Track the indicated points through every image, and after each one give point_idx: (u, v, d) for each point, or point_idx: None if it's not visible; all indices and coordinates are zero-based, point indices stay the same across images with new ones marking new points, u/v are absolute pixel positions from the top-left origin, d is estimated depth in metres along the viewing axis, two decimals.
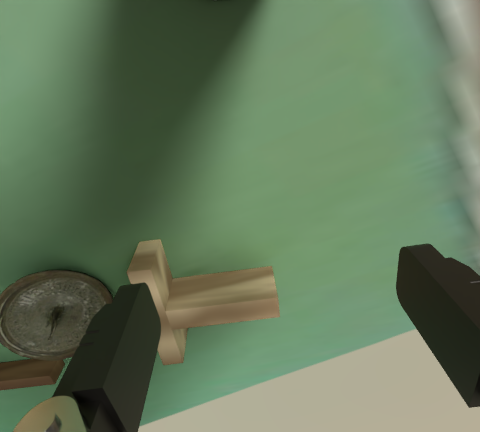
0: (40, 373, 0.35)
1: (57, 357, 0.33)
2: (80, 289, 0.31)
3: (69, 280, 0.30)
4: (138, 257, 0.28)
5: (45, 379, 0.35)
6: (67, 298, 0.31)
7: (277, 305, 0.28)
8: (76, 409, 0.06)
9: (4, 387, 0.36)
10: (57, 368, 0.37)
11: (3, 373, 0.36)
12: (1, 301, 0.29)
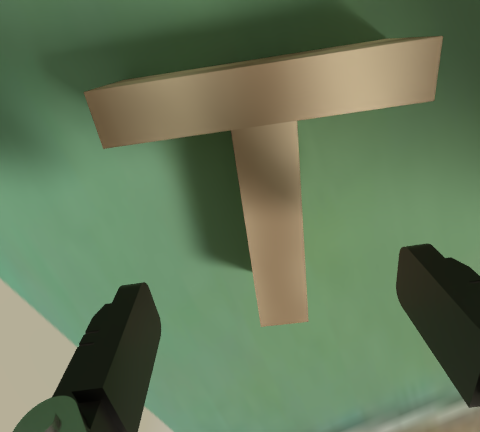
0: None
1: None
2: None
3: None
4: None
5: None
6: None
7: (290, 322, 0.16)
8: (76, 409, 0.06)
9: None
10: None
11: None
12: None
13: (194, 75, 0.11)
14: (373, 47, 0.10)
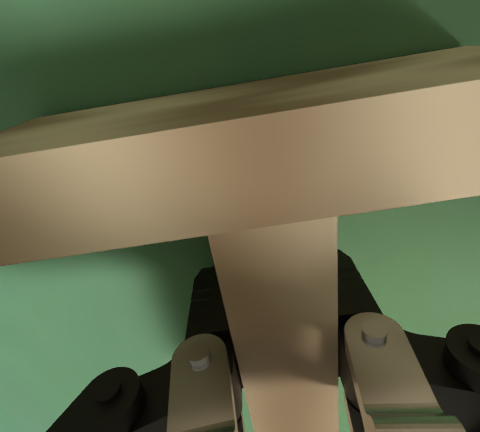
0: None
1: None
2: None
3: None
4: None
5: None
6: None
7: None
8: (223, 343, 0.07)
9: None
10: None
11: None
12: None
13: (124, 138, 0.05)
14: None
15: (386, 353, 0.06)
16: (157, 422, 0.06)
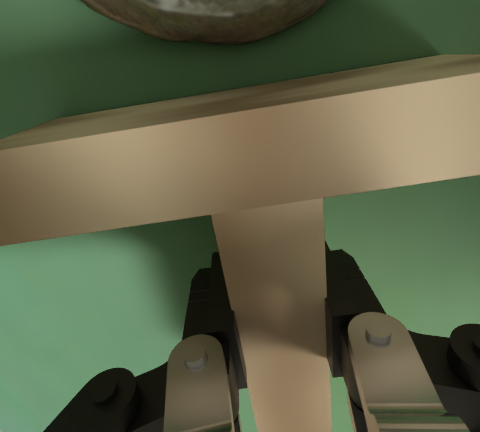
0: None
1: None
2: None
3: None
4: None
5: None
6: None
7: None
8: (220, 344, 0.07)
9: None
10: None
11: None
12: None
13: (142, 128, 0.06)
14: (464, 76, 0.06)
15: (390, 353, 0.06)
16: (153, 423, 0.06)
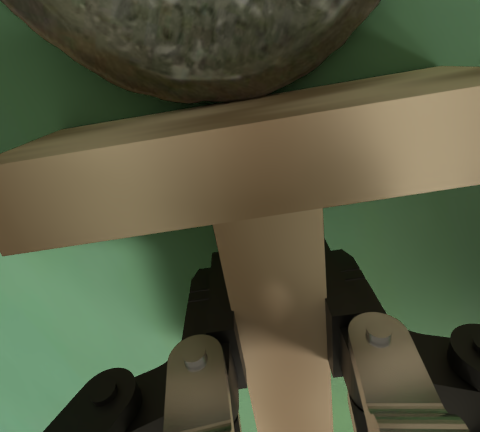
0: None
1: None
2: None
3: None
4: None
5: None
6: None
7: None
8: (219, 344, 0.07)
9: None
10: None
11: None
12: None
13: (146, 141, 0.06)
14: (458, 90, 0.06)
15: (390, 353, 0.06)
16: (153, 422, 0.06)
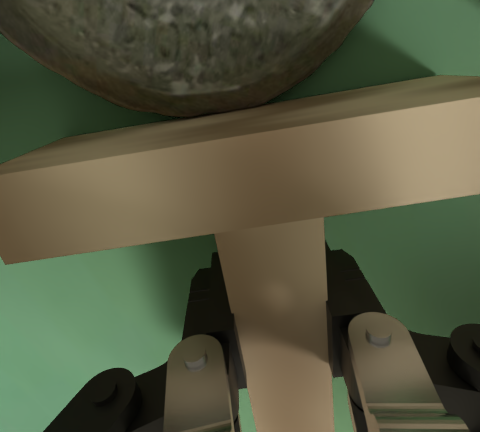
0: None
1: None
2: None
3: None
4: None
5: None
6: None
7: None
8: (220, 344, 0.07)
9: None
10: None
11: None
12: None
13: (148, 151, 0.06)
14: (458, 101, 0.06)
15: (390, 353, 0.06)
16: (153, 422, 0.06)
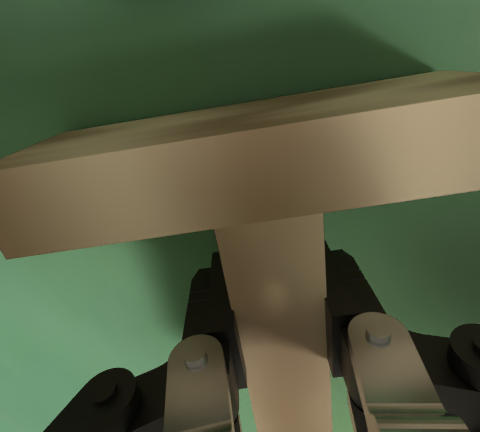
0: None
1: None
2: None
3: None
4: None
5: None
6: None
7: None
8: (220, 344, 0.07)
9: None
10: None
11: None
12: None
13: (148, 147, 0.06)
14: (458, 97, 0.06)
15: (390, 353, 0.06)
16: (153, 422, 0.06)
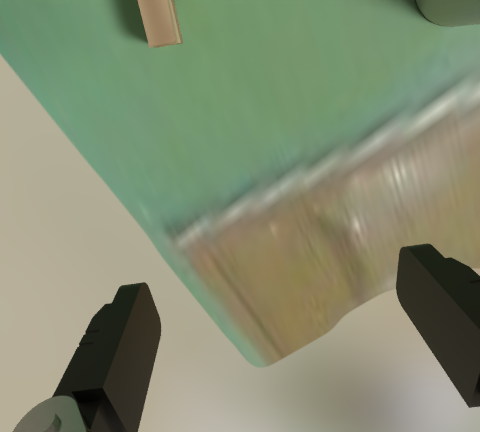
0: None
1: None
2: None
3: None
4: None
5: None
6: None
7: (166, 43, 0.28)
8: (76, 409, 0.06)
9: None
10: None
11: None
12: None
13: None
14: None
15: None
16: None
